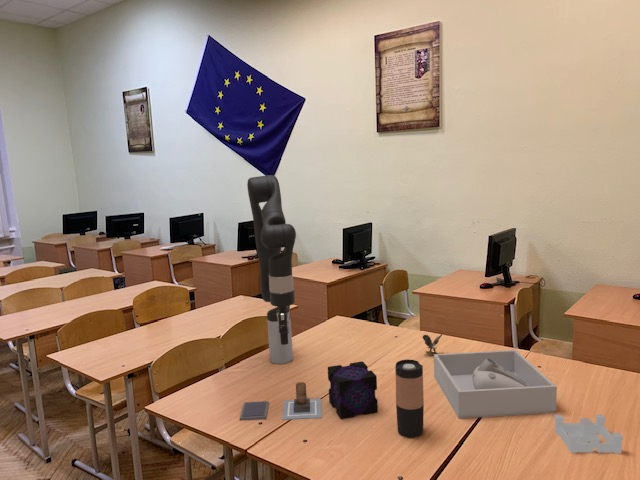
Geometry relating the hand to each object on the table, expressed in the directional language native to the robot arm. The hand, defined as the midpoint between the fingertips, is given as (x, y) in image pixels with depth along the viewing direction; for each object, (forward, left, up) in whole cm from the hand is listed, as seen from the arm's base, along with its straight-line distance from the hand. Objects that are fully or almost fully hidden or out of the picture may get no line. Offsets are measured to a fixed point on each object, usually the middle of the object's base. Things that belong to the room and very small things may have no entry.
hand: (285, 338), depth 153 cm
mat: (+2, +4, -23) cm, 23 cm away
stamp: (+2, +4, -22) cm, 23 cm away
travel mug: (+18, +35, -23) cm, 46 cm away
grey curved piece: (-2, +68, -22) cm, 71 cm away
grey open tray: (-2, +65, -23) cm, 69 cm away
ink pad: (+2, -11, -23) cm, 25 cm away
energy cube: (+2, +20, -23) cm, 31 cm away
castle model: (+29, +80, -24) cm, 88 cm away
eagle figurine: (-37, +55, -23) cm, 70 cm away
